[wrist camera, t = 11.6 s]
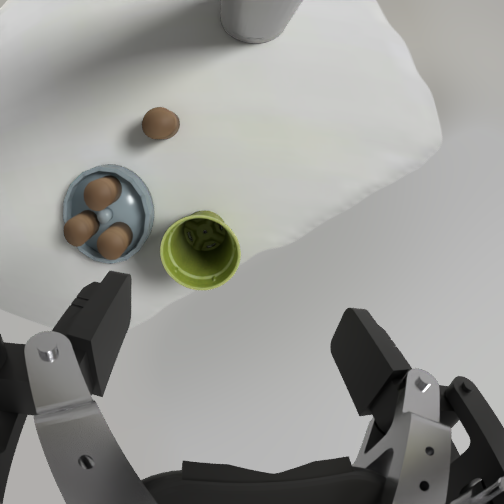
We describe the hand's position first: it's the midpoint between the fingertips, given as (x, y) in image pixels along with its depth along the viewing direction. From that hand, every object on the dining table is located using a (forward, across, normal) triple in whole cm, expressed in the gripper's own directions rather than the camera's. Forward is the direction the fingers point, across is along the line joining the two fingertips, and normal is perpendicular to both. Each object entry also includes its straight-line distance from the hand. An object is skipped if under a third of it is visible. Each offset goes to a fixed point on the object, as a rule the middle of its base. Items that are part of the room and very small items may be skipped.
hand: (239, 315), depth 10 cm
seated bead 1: (+29, +20, +9) cm, 36 cm away
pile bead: (+30, +10, -6) cm, 32 cm away
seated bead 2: (+29, +14, +10) cm, 34 cm away
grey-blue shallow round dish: (+30, +16, +7) cm, 35 cm away
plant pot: (+30, +2, +7) cm, 31 cm away
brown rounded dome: (+29, +16, +3) cm, 34 cm away
